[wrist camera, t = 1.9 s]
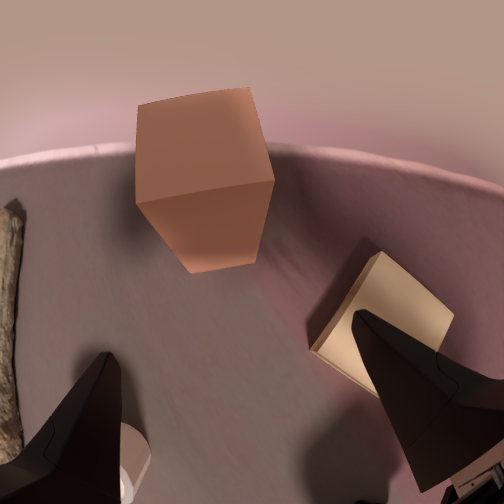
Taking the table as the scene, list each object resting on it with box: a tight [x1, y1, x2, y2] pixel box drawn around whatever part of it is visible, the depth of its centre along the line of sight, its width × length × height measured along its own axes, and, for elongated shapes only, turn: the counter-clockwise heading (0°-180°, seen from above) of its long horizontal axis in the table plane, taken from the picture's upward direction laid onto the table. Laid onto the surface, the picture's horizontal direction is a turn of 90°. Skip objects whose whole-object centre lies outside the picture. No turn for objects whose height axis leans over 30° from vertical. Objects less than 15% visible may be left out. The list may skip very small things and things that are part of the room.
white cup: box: [120, 422, 151, 504], centre depth 16 cm, size 7×7×7 cm
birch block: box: [310, 251, 454, 398], centre depth 22 cm, size 10×10×3 cm
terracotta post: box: [135, 87, 275, 274], centre depth 18 cm, size 6×6×14 cm
